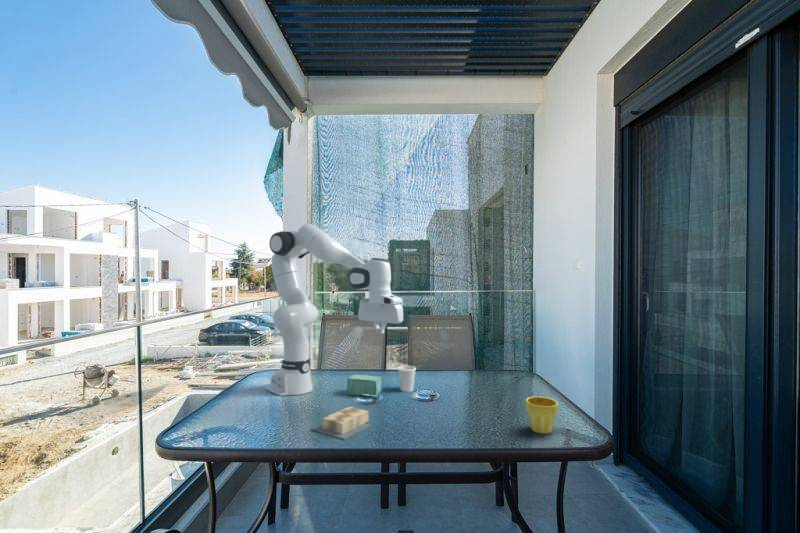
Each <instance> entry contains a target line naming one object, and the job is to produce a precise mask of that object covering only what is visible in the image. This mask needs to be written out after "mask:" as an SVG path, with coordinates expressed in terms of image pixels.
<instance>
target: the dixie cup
mask: <svg viewBox="0 0 800 533" xmlns="http://www.w3.org/2000/svg"><path fill="white" fill-rule="evenodd" d="M416 370H417V368H416V366H414V365H400V366H398V367H397V371H398V379H399V388H400V391H401V392H404V393H406V392H407V393H410V392H413V391H414V385H415V378H416Z"/></svg>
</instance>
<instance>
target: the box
mask: <svg viewBox="0 0 800 533" xmlns="http://www.w3.org/2000/svg"><path fill="white" fill-rule="evenodd" d="M346 390H347V392H346V394H347V395H348V396H357V397H358V395H362V394H369V395H377V396H379V395H380V394H381V392H382V377H381V376H376V375H375V376H373V375H365V374H364V375H362V374H352V375H350V376H349V377H347V388H346ZM378 394H379V395H378Z"/></svg>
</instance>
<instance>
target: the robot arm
mask: <svg viewBox="0 0 800 533" xmlns="http://www.w3.org/2000/svg"><path fill="white" fill-rule="evenodd" d="M269 249H270V251H271V252H272V253H273V255H272V256H271V270H272V275H273V280H274V283H275V287H276V292H277V294H278V296H280V298H282V299H283V301H284V302H285V305H283V306H281V307H279V308H278V309H276V310H275V311H274V312H273V315H272V322H273V325H274V326H275V327H276V329H277V330H279V332H280V335H281V337H282V342H283V359H282V360H280V361H279V362H280V363H279V364H281V367H279V369H278V370H276V371H275V372H274V373H272V375H271V377H270V384H268V385H266V386H264V388H265V390H266V391H269V392H271V393H273V394H276V395H278V396H280V397H281V396H282V397H283V396H297V395H305V394H308V393H310V392H312V391H313V390H314V383H313V380H312V373H311V368H310V367H311V358H310V341H309V339H308V338H307V337H306V335H305V333H304V327H308V326H310V325H312V324H314V323H315V322H316V321H317V319H318V318H319V311H318V308H317V307H316V306H315V305H314V304H313V303H312V302H311V301H310V299H309V296H307V294H306V292H305V289H304V288H303V284H302V282H301V277H300V274H299V270H298V266H297V259H299V260H300V259H301V260H302V259H303V258H304V257H305V256H307V255H308V254H309V253H310V254H311V255H312V256H313V257H315V258H317V259H318V260H320V261H323V262H327V263H333V264H339V265H342V266H344V267H346V268H348V269H349V271H348V273H347V277H346V278H347V283H348V286H349V287H350V288H351V289H352V290H357V291H365V290H368V297H363V298H361V299H360V300H359V307H358V315H357V316H358V317H357V318H358V319H359V321H365V322H373V326H374V328H375V333H376V334H380V335H381V334H385V329H386V327H387V325H388V324H402V323H403V321H404V308H403V305H402V302H403V299H402V297H399V296H397V295H396V294H393V293H392V289H391V282H392V270H391V263H390V262H389V260H388V259H385V258H381V257H380V258H378V257H371V258H370V259H369V260H368V261H367V262H366V261H365V260H363V259H361V258H360V257H358V256H357V255H355V254H354V253H353V252H351V251H350V250H349V249H347V248H346V247H344V246H343V245H341V244H340V243H339V242H338V241H337V240H335V239H334V238H333V237H332V236H330V234H328V233H327V232H325V231H324V230H323V229H321V228H320V227H318V226H316V225H314V224H312V223H305V224H303V225H301V227H299V229H298V231H295V230H292V231H291V230H290V231H284V230H283V231H278V232H275V233H273V234H272V235H271V236H270V239H269ZM379 325H381V327H380V326H379Z"/></svg>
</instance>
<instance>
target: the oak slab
mask: <svg viewBox="0 0 800 533" xmlns="http://www.w3.org/2000/svg"><path fill="white" fill-rule="evenodd" d="M369 413H370V411H369V410H365V409H362V408H356V407H353V406H348V407H345V408H343V409H340V410H338V411H336V412H334V413H331V414H328V415H327V416H325V417H322V424H323V429H327V430H330V431H333V432H337V433H340V434H344V433H346V432H348V431H350V430H352V429H354V428H356V427H358V426H360V425H362V424H364V423H367V422H369V420H370V417H369V416H370V415H369Z"/></svg>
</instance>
